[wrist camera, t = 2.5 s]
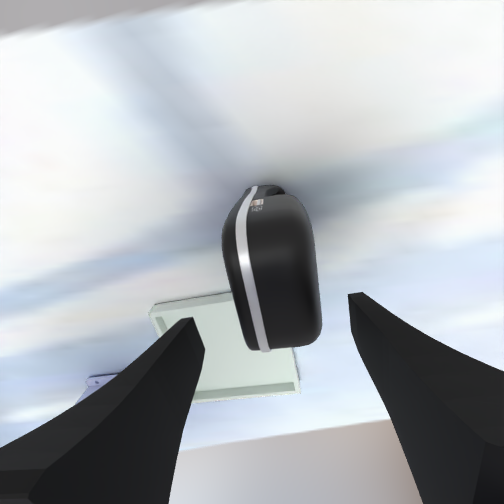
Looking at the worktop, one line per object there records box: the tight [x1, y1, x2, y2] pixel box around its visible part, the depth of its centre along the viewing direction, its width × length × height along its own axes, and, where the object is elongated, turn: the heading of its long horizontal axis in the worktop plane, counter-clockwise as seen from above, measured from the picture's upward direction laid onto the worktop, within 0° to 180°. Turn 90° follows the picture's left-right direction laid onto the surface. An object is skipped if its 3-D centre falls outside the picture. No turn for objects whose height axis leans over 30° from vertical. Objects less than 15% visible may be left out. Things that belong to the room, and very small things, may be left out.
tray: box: [148, 292, 301, 403], centre depth 25 cm, size 12×12×2 cm
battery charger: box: [222, 185, 322, 353], centre depth 15 cm, size 7×4×11 cm, turn 11°
